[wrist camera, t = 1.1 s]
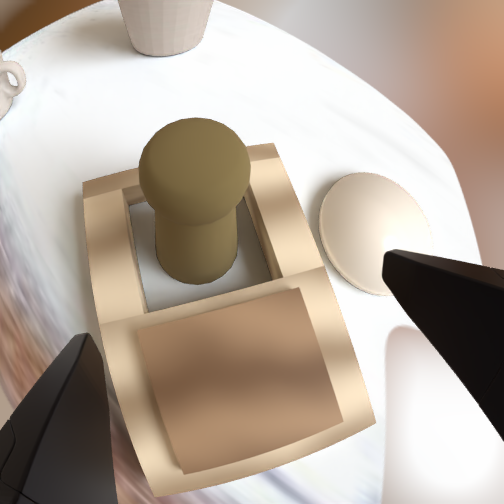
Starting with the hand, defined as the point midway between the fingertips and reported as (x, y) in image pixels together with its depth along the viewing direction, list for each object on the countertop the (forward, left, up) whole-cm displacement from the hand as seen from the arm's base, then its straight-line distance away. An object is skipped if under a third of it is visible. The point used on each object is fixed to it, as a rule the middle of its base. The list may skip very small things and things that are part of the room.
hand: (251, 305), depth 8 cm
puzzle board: (+1, -2, -13) cm, 13 cm away
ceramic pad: (-7, -14, -13) cm, 20 cm away
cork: (+5, -5, -13) cm, 15 cm away
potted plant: (+24, -26, -13) cm, 38 cm away
